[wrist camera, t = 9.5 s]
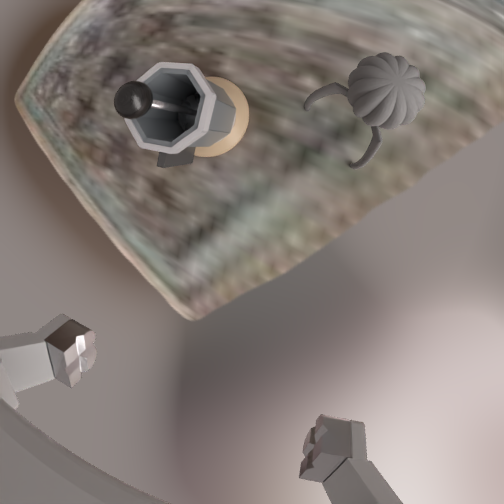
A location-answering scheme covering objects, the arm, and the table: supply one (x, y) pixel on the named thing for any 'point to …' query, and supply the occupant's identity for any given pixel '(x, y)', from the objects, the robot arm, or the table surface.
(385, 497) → the robot arm
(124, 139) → the table surface
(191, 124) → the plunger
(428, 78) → the table surface
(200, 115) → the grey octagonal cup
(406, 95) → the citrus juicer
